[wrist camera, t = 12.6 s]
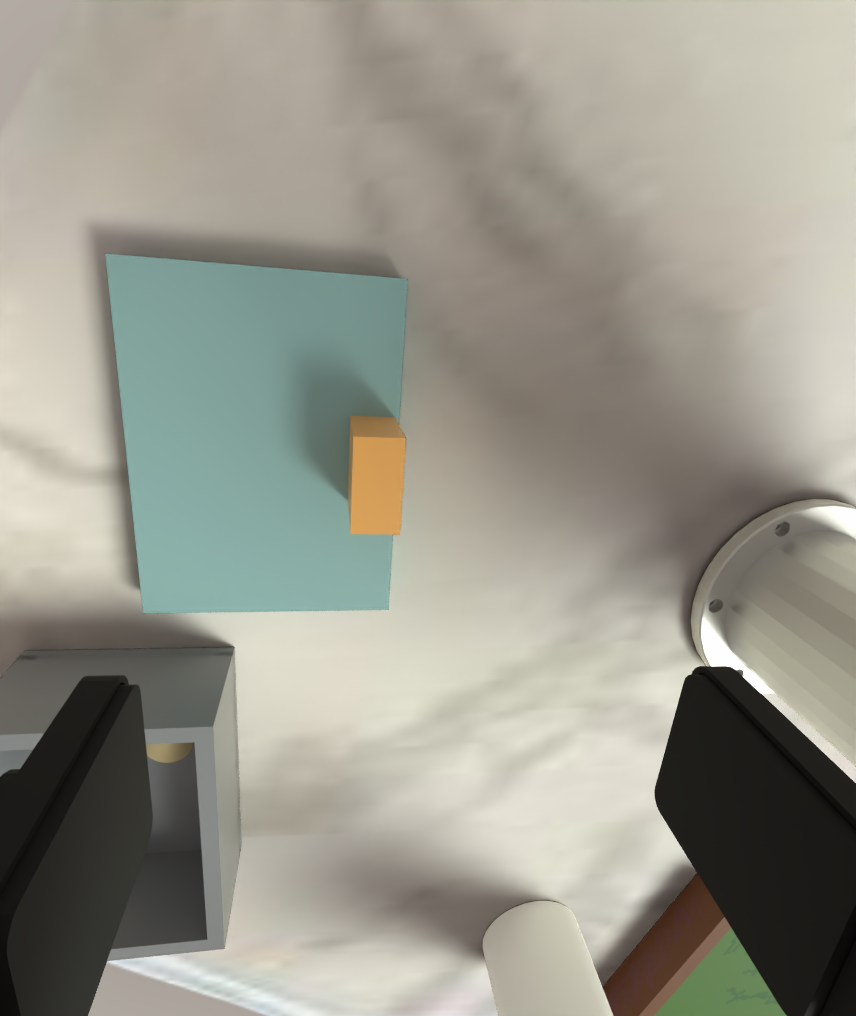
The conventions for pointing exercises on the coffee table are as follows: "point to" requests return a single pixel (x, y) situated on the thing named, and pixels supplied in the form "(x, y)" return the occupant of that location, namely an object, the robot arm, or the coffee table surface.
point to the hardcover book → (690, 967)
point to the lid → (260, 433)
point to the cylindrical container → (542, 964)
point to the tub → (156, 781)
